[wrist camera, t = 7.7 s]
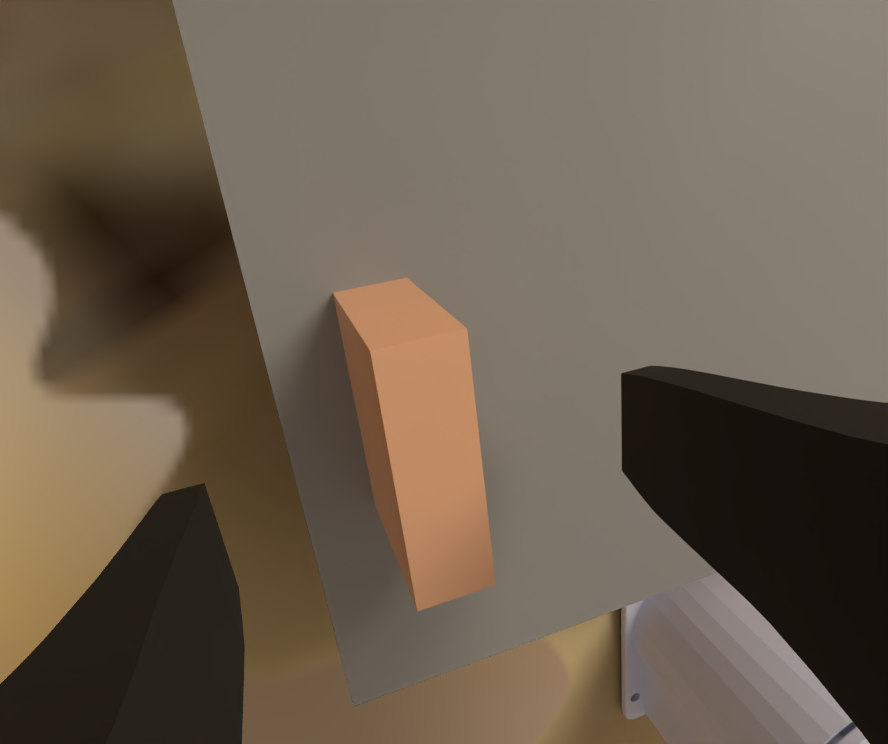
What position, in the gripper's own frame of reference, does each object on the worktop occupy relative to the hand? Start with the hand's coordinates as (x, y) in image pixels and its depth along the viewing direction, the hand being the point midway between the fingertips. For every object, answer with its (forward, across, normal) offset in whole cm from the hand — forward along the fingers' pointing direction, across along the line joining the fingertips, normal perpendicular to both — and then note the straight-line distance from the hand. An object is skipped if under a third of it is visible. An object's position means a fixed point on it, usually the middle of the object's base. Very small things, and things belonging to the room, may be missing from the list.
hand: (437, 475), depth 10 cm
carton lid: (+4, -9, 0) cm, 10 cm away
